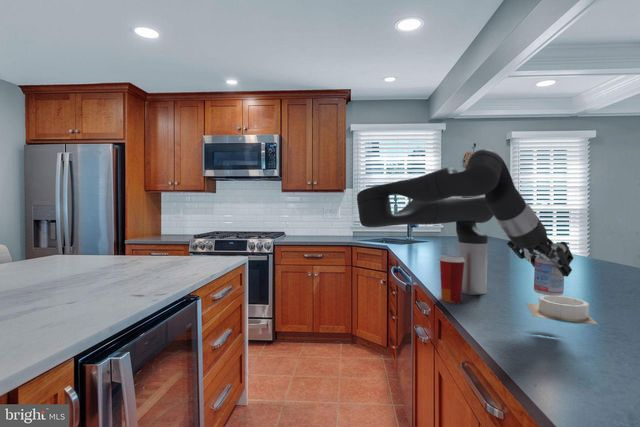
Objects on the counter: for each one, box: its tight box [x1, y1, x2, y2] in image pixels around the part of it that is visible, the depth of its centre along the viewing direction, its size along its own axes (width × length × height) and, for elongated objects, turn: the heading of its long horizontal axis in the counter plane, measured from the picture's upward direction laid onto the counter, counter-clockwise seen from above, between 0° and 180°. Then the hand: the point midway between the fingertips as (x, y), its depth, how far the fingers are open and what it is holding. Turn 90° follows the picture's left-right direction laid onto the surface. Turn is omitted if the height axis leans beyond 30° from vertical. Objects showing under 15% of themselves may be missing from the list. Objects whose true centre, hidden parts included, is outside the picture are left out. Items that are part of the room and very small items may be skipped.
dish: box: [538, 294, 590, 320], centre depth 96 cm, size 11×11×4 cm
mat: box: [525, 302, 598, 325], centre depth 96 cm, size 14×14×1 cm
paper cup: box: [438, 254, 465, 304], centre depth 109 cm, size 8×8×14 cm
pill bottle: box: [533, 250, 565, 296], centre depth 85 cm, size 6×6×11 cm
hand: (554, 270), depth 85 cm, fingers closed on pill bottle, 6 cm apart
